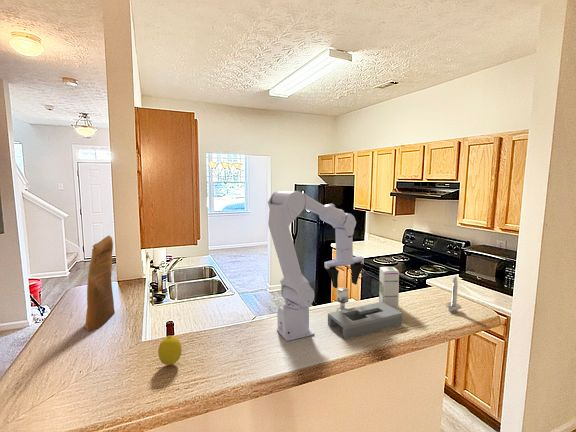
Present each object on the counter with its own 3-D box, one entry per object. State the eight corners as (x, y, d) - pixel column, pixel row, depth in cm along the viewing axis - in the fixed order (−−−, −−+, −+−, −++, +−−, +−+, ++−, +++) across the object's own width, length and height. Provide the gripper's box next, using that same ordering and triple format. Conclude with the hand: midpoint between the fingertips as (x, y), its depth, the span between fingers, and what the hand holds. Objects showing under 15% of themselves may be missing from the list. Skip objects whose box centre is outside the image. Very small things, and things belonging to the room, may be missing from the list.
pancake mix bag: (124, 307, 114) (119, 234, 110) (101, 332, 95) (93, 244, 92) (105, 309, 113) (99, 234, 109) (77, 334, 94) (69, 245, 91)
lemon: (174, 356, 82) (173, 328, 81) (186, 364, 78) (185, 334, 77) (155, 366, 77) (153, 336, 77) (166, 375, 74) (164, 344, 73)
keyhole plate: (345, 339, 90) (345, 326, 89) (327, 324, 99) (327, 313, 99) (402, 324, 99) (402, 312, 98) (381, 312, 108) (381, 301, 107)
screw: (452, 314, 106) (442, 309, 110) (464, 313, 107) (454, 307, 111) (454, 278, 104) (444, 274, 109) (466, 277, 105) (456, 273, 110)
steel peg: (340, 317, 105) (341, 291, 104) (334, 312, 108) (334, 288, 107) (350, 315, 106) (350, 290, 105) (343, 310, 110) (344, 286, 109)
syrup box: (398, 309, 110) (400, 270, 108) (382, 309, 110) (383, 270, 109) (393, 303, 116) (395, 266, 114) (378, 303, 116) (379, 266, 114)
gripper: (356, 242, 110) (356, 278, 112) (319, 247, 106) (321, 284, 108) (367, 246, 104) (367, 284, 106) (329, 252, 99) (330, 291, 101)
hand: (344, 285), depth 106 cm, fingers open, 7 cm apart
